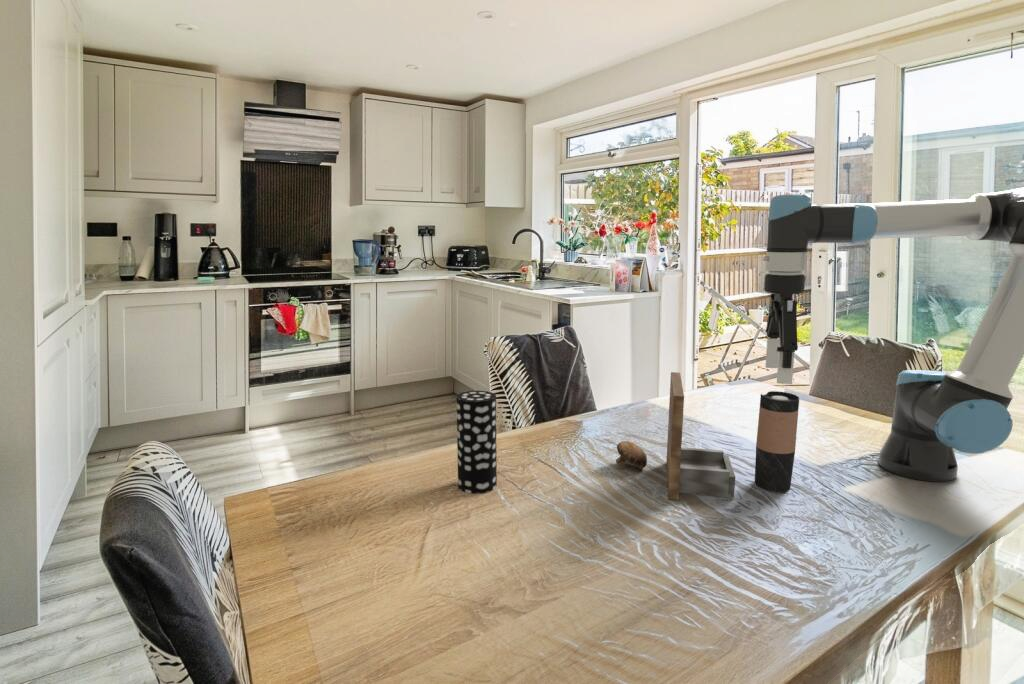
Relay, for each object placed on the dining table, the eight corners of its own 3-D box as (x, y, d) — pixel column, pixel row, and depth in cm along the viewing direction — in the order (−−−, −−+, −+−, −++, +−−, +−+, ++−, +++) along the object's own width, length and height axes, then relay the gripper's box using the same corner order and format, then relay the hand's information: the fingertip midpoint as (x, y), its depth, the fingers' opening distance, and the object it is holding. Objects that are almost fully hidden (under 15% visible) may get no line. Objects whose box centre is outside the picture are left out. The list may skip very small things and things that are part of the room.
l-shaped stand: (725, 467, 142) (731, 375, 138) (736, 505, 123) (744, 399, 119) (666, 462, 145) (671, 372, 141) (668, 499, 126) (673, 395, 122)
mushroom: (604, 456, 140) (621, 434, 140) (611, 457, 148) (627, 436, 148) (632, 478, 137) (649, 456, 137) (638, 479, 145) (654, 458, 144)
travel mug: (795, 494, 128) (804, 402, 124) (756, 491, 130) (764, 400, 126) (787, 479, 135) (795, 392, 132) (750, 476, 137) (757, 390, 133)
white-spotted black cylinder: (503, 481, 135) (502, 393, 131) (485, 496, 127) (484, 403, 123) (469, 475, 138) (468, 389, 134) (450, 489, 131) (448, 398, 127)
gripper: (756, 268, 137) (750, 361, 141) (776, 278, 113) (768, 389, 117) (792, 268, 135) (785, 362, 139) (820, 278, 111) (811, 391, 115)
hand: (777, 375), depth 128 cm, fingers open, 13 cm apart
